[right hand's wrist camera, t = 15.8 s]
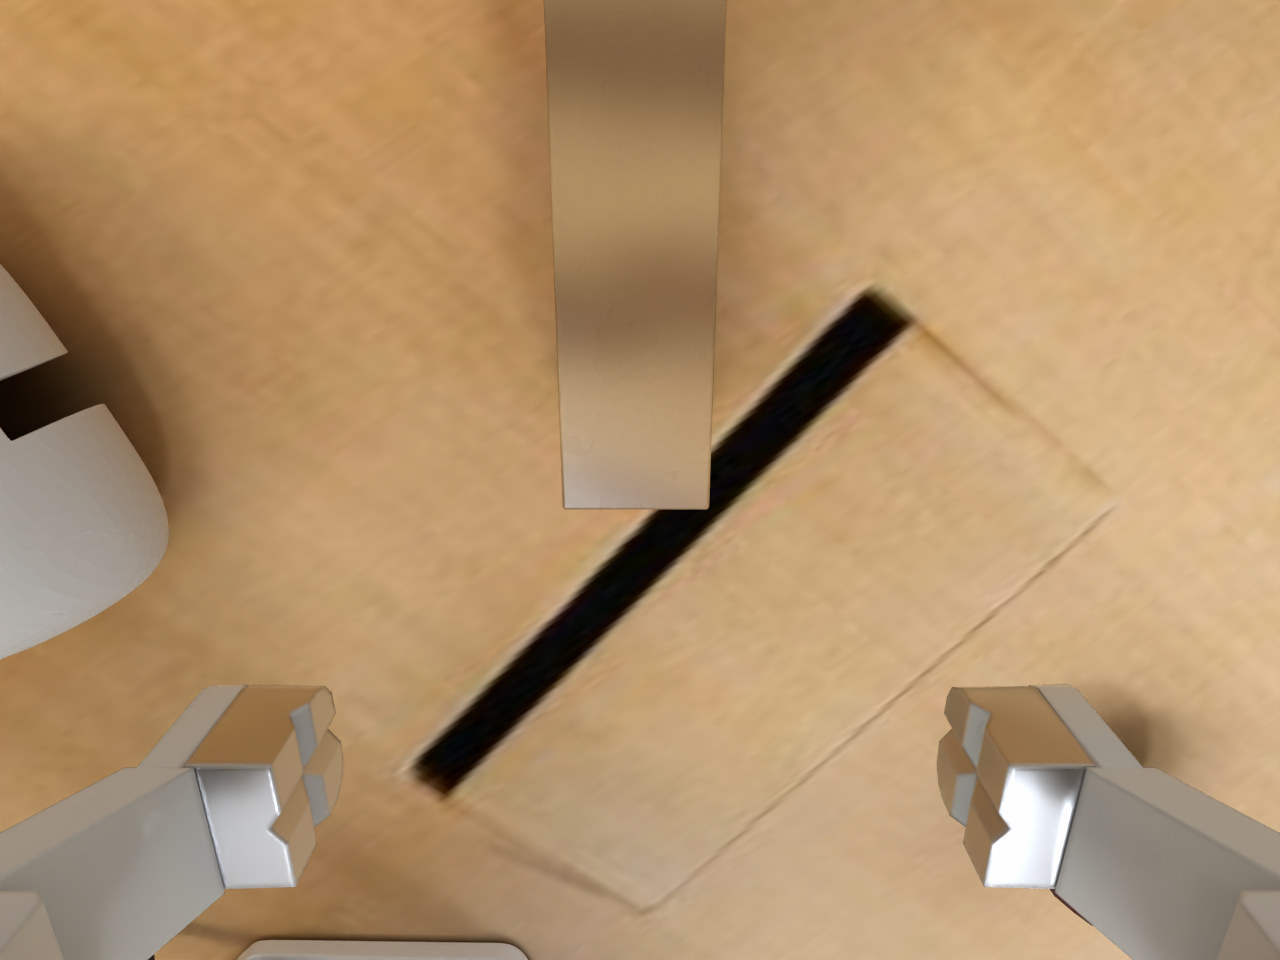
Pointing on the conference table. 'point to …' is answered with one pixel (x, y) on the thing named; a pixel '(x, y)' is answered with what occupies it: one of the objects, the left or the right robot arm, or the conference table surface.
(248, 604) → the conference table surface
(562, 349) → the bar
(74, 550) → the white rounded device
